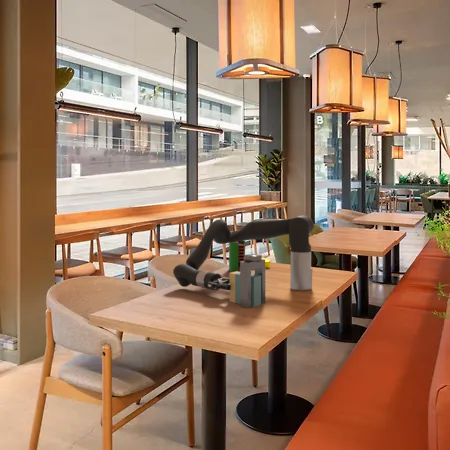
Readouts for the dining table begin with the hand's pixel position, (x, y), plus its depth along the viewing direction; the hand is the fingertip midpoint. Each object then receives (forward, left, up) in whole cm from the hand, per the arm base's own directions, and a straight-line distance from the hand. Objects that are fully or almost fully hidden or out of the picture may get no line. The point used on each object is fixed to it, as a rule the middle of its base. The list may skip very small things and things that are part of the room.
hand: (236, 285), depth 208 cm
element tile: (-21, -75, -7) cm, 78 cm away
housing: (-6, +6, -6) cm, 11 cm away
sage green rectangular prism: (-3, +4, -6) cm, 8 cm away
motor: (-10, -66, -7) cm, 67 cm away
